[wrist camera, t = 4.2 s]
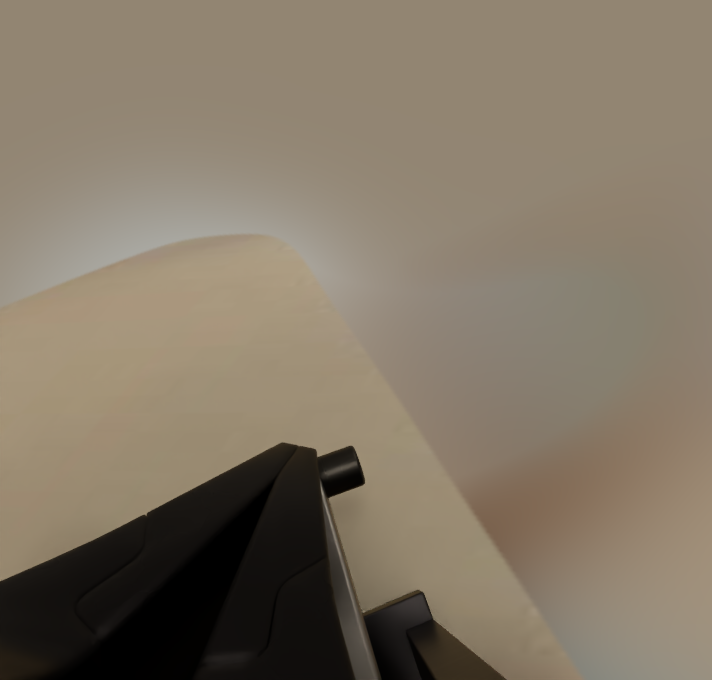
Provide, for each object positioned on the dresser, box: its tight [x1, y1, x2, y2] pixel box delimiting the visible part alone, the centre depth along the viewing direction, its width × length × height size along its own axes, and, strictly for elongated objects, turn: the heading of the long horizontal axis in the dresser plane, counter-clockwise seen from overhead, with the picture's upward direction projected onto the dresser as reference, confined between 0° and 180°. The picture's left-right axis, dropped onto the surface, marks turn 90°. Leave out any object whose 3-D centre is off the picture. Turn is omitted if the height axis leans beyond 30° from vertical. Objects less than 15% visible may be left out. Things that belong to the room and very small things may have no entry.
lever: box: [317, 446, 382, 680], centre depth 7 cm, size 8×3×2 cm, turn 19°
